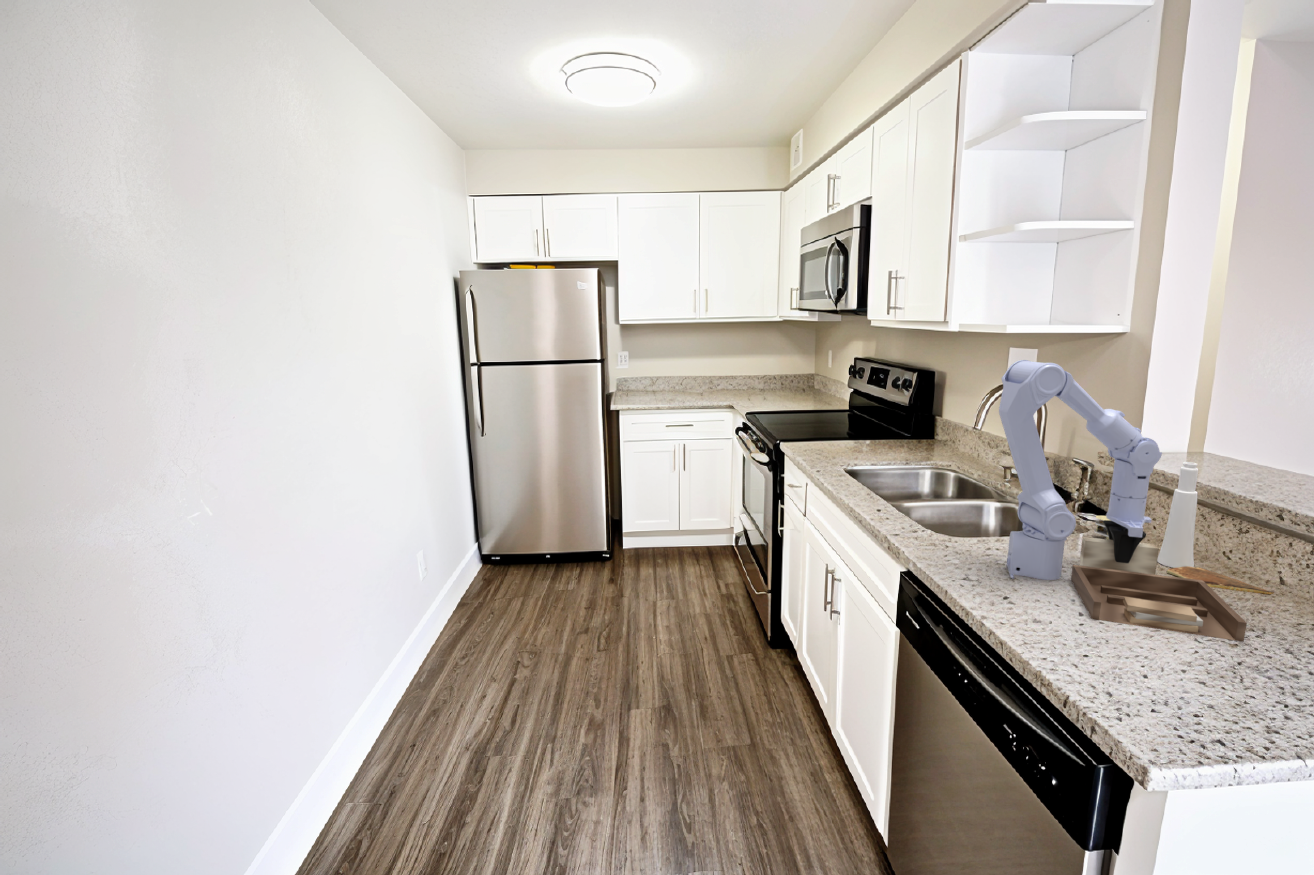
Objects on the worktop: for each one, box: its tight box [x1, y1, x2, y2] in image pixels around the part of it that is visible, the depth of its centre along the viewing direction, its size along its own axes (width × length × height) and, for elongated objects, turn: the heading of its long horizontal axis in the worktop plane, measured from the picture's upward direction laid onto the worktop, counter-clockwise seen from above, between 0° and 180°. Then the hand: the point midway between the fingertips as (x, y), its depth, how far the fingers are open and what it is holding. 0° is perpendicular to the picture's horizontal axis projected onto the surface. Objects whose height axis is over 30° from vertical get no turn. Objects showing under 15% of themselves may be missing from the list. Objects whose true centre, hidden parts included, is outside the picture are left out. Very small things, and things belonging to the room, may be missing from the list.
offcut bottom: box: [1124, 608, 1199, 633], centre depth 101 cm, size 9×4×1 cm, turn 66°
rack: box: [1070, 564, 1248, 642], centre depth 107 cm, size 20×17×4 cm
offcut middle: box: [1130, 611, 1203, 627], centre depth 101 cm, size 9×4×1 cm, turn 70°
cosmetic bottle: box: [1157, 461, 1199, 569], centre depth 125 cm, size 6×6×22 cm
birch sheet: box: [1078, 536, 1160, 575], centre depth 121 cm, size 12×2×7 cm, turn 66°
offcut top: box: [1123, 597, 1197, 622], centre depth 101 cm, size 9×4×1 cm, turn 61°
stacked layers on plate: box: [1093, 515, 1111, 540], centre depth 140 cm, size 10×9×6 cm
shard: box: [1166, 566, 1275, 595], centre depth 116 cm, size 13×9×2 cm
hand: (1119, 559), depth 121 cm, fingers closed on birch sheet, 2 cm apart
